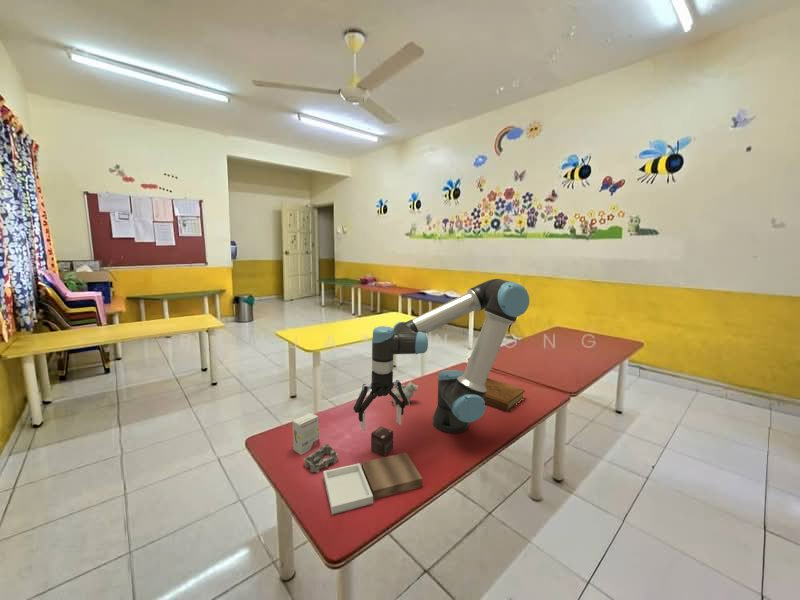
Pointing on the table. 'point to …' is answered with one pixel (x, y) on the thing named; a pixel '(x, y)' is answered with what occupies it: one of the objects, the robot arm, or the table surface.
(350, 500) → the bin
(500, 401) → the diary
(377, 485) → the wooden board
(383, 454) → the box
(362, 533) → the table surface
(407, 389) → the dog figurine
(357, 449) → the table surface
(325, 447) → the grey lobed frame
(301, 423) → the ink box
